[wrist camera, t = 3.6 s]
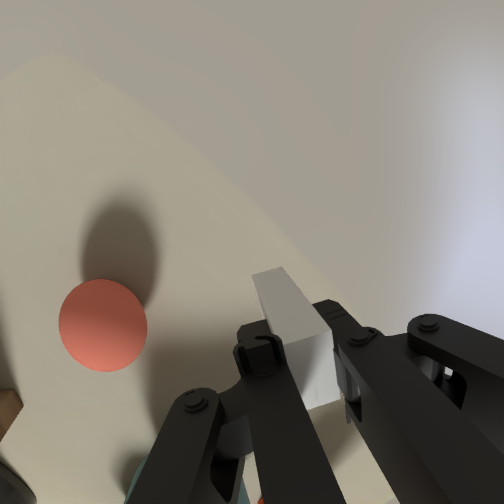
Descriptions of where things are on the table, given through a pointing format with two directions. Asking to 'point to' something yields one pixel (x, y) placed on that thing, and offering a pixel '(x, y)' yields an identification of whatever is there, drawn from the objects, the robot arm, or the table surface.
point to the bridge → (8, 409)
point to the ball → (102, 325)
